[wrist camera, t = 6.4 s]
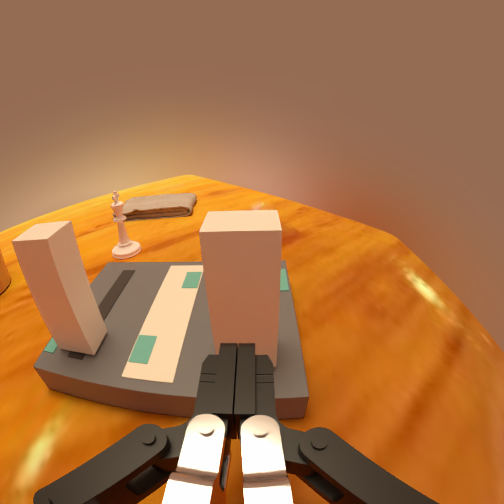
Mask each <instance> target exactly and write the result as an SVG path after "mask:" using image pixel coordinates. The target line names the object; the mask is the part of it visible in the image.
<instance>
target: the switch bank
mask: <svg viewBox="0 0 504 504" xmlns="http://www.w3.org/2000/svg"><path fill="white" fill-rule="evenodd" d="M90 287H91V290H92V292H93V295H94V298H95V301H96V303H97V306H98V308H99V311H100V313H101V316H102V318H103V321H104V323H105V326H106V328H107V330H108V331H107V333H106V334H105V336H104V338H103V340H102V342H101V344H100V346H99V347H98V349H97V351H96V353H95V355H91V354H85V353H80V352H74V351H69V350H65V349H60V348H58V346H57V344H56V342H55V341H54V339H53V337H52V338H51V339H50V341H49V342H48V344H47V345H46V347H45V348H44V350H43V352H42V353H41V355H40V356H39V358H38V359H37V361H36V363H35V364H34V366H33V367H34V368H35V370H36V371H37V373H38V374H39V376H40V377H41V378H42V380H43V381H44V382H45V384H46V385H47V386H48V388H50V389H53V390H56V391H59V392H62V393H66V394H69V395H72V396H76V397H79V398H83V399H87V400H91V401H95V402H99V403H103V404H108V405H112V406H117V407H122V408H127V409H132V410H138V411H144V412H150V413H157V414H165V415H173V416H182V417H192V415H193V413H194V408H195V402H196V396H197V390H198V385H199V379H200V375H201V367H202V363H203V361H204V360H205V359H206V357H207V356H208V355H209V354H212V355H216V353H215V347H214V340H213V334H212V328H211V321H210V314H209V307H208V300H207V293H206V286H205V278H204V270H203V262H112V263H108V264H107V265H106V266H105V267H104V268H103V270H102V271H101V272H100V273H99V275H98V276H97V277H96V278H95V279H94V281H93V282H92V283H91V285H90ZM273 373H274V390H275V408H276V416H277V419H291V418H304V415H305V411H306V407H307V403H308V399H309V393H308V386H307V380H306V374H305V368H304V362H303V356H302V350H301V344H300V338H299V332H298V326H297V321H296V315H295V310H294V304H293V299H292V293H291V288H290V283H289V278H288V272H287V267H286V262H285V260H283V261H281V276H280V302H279V325H278V344H277V362H276V367H273Z"/></svg>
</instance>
